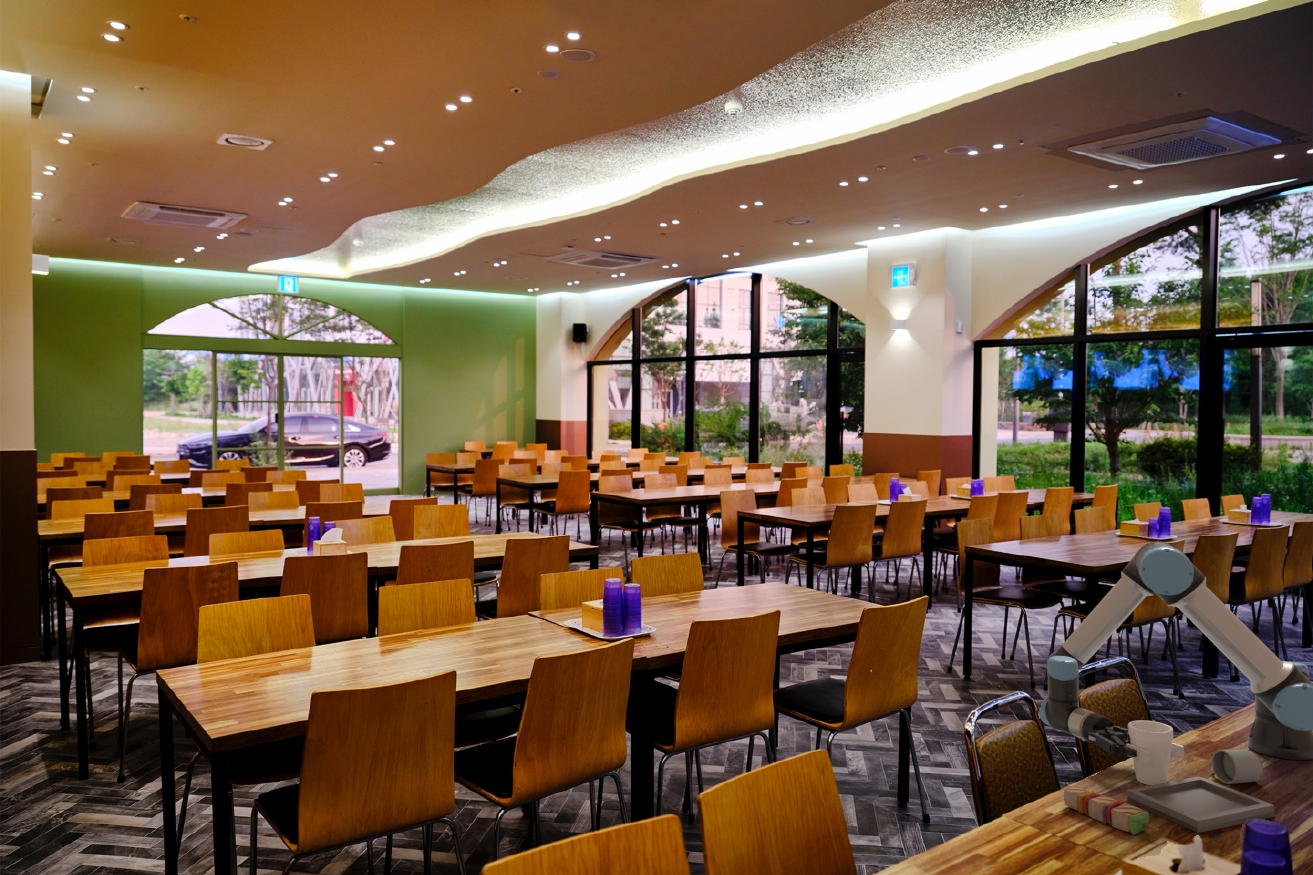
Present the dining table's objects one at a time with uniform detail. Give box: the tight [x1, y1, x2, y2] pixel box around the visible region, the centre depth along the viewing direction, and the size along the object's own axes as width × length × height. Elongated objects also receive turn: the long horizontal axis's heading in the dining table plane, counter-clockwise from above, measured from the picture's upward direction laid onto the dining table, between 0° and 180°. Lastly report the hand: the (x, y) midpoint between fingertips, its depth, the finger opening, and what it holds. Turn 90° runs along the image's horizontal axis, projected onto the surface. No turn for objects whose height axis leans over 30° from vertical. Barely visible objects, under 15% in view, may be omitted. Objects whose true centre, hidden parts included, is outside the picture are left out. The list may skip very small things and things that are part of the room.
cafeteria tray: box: [1126, 775, 1275, 834], centre depth 200 cm, size 22×18×2 cm
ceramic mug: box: [1210, 749, 1264, 785], centre depth 217 cm, size 11×8×8 cm
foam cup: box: [1127, 720, 1174, 786], centre depth 216 cm, size 10×9×13 cm
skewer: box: [1063, 786, 1160, 835], centre depth 194 cm, size 21×6×5 cm, turn 27°
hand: (1166, 755), depth 212 cm, fingers closed on foam cup, 9 cm apart
